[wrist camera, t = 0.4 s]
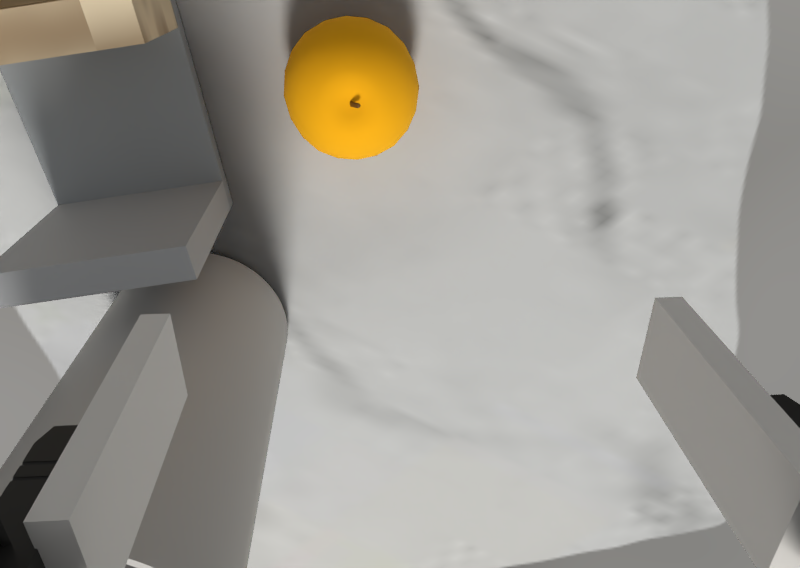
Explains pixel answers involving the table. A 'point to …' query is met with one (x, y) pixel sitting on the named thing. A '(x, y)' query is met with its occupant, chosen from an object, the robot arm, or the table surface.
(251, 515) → the cylinder vase
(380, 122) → the orange
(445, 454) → the table surface
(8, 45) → the block
